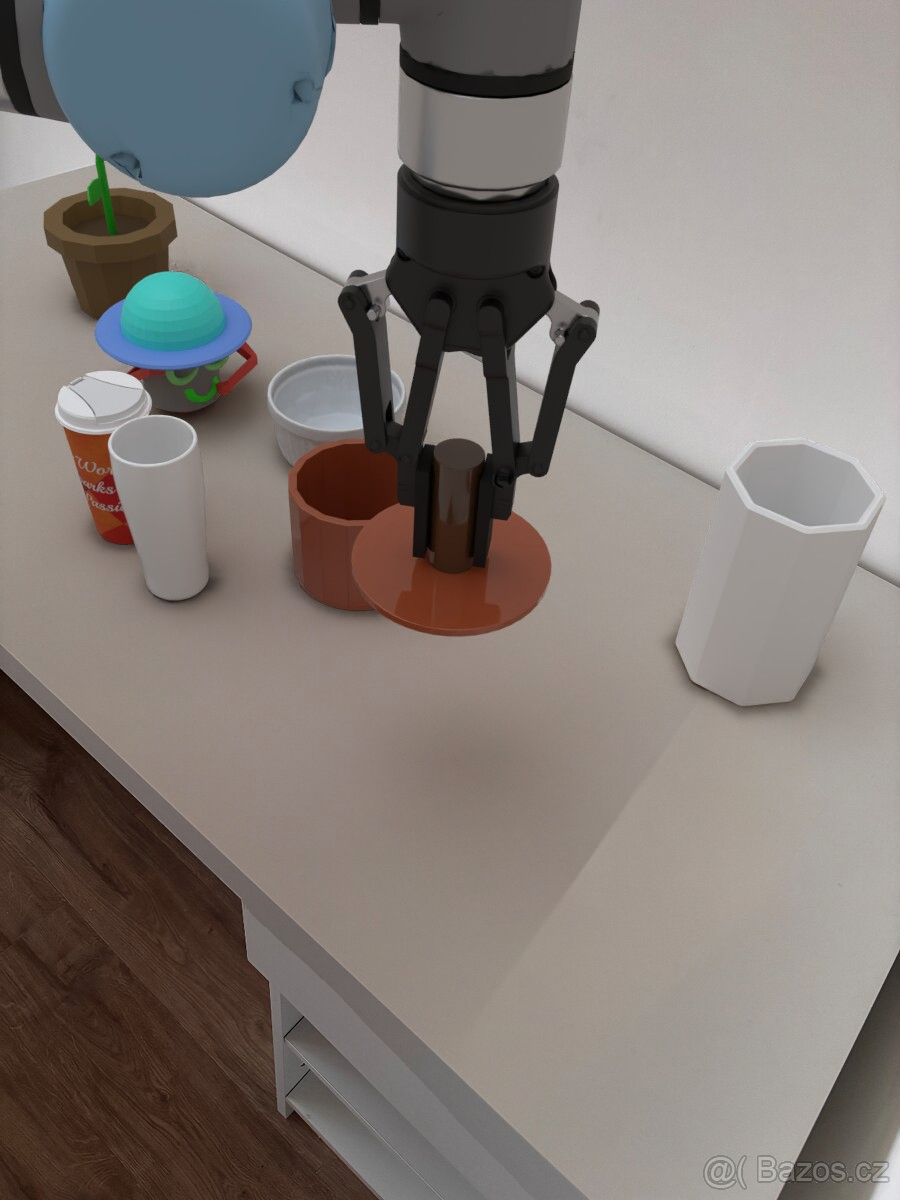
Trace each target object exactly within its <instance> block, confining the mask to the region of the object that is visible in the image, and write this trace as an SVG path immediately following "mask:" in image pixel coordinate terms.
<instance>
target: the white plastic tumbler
mask: <svg viewBox="0 0 900 1200" xmlns="http://www.w3.org/2000/svg"><path fill="white" fill-rule="evenodd" d="M108 449H109V456H110V462H111V468H112V473H113V478H114V482H115V486H116V490H117V493H118V496H119V499H120V503H121V506H122V508H123V511H124V514H125V517H126V520H127V523H128V526H129V529H130V532H131V535H132V538H133V541H134V543H133V544H134V547H135V550H136V553H137V556H138V559H139V562H140V565H141V568H142V572H143V576H144V577H143V578H144V582H145V585H146V587H147V588H148V590H149V591H150V592H151V593H152V594H153V595H154V596H156V597H157V598H160V599H162V600H165V601H166V600H167V601H183V600H187V599H190V598H193V597H194V596H197V595H198V594H200V592H202V591H203V590H204V589H205V587H206V586H207V584H208V583H209V579H210V568H209V560H208V545H207V518H206V492H205V491H206V489H205V488H206V487H205V474H204V467H203V460H202V459H203V458H202V454H201V448H200V443H199V439H198V434H197V432H196V430H195V428H194V427H193V426H192V425H191V424H190V423H188V421H185V420H184V419H182V418H179V417H175V416H172V415H166V414H165V415H164V414H149V416H143V417H139V418H135V419H132V420H130V421H128V422H126V423H124V424H122V425H121V426H119V427H118V428H117V429H116V430H115V431H114V432H113V433H112V434H111V436H110V438H109V441H108Z"/></svg>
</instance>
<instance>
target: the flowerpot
mask: <svg viewBox="0 0 900 1200" xmlns="http://www.w3.org/2000/svg"><path fill="white" fill-rule="evenodd" d="M94 154H95V153H94ZM94 156H95V158H94V159H95V160H94V161H95V162H94V163H95V168H96V173H97V177H96V178H93V179H92V180H91V182H90V183H89V184H88V185H87V187H86V190H85V191H81V192H79V193H74V194H72V195H68V196H65V197H61V198H60V199H58V201H56V202H55V203H54V204H52V205H51V206H50V207H48V208H47V209H45V211H43V224H42V225H43V227H42V228H43V233H44V236H45V239H46V244H47V247H49V248H51V250H53V251H55V252H56V253H57V254H59V255H61V258H62V262H63V264H64V266H65V269H66V273H67V275H68V277H69V280H70V282H71V286H72V288H73V291H74V294H75V295H76V299H77V301H78V304H79V307H80V309H81V311H83V312H84V313H86V314H87V315H88V316H90V317H91V318H92V319H93V320H99V319H100V318H101V316H102V315H103V314H104V313H105V312H106V311H107V310H108V309H109V308H110V307H112V306H113V305H115V304H116V303H118V302H120V301H122V300H124V299H126V297H127V295H128V293H129V292H130V291H131V289H132V288H133V287H134V286H135V285H136V284H137V283H138V282H140V281H141V280H142V279H144V278H145V277H147V276H149V275H152V274H155V273H160V272H166V271H170V255H169V254H170V253H169V252H170V251H169V245H170V244H171V243H172V242H173V241H175V240H176V239H177V238H178V237H179V236H178V229H177V221H176V215H175V208H174V204H173V203H172V202H170V201H169V200H167V199H165V198H163V197H162V196H161V195H159V194H157V193H156V192H152V191H147V190H146V191H145V190H140V189H135V188H128V187H112V188H110V186H109V181H108V174H107V170H106V164H105V162H107V161H106V160H104V159H102V158H101V157H100V156H98V155H97V154H95V155H94Z"/></svg>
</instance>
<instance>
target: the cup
mask: <svg viewBox="0 0 900 1200" xmlns="http://www.w3.org/2000/svg"><path fill="white" fill-rule="evenodd" d="M886 500H887V496H886V494H885V493H884V492H883V490H882V489H881V488H880V486H879V485H878V484H877V482H876V481H875V479H874V478H873V476H872V475H871V474H870V472H869V471H868V469H867V468H866V466H865V465H864V464H863V463H862V461H861V460H860V459H859V458H857V457H856V456H852V455H850V454H848V453H845V452H842V451H840V450H838V449H835V448H833V447H830V446H827V445H825V444H822V443H820V442H817V441H815V440H812V439H811V438H807V437H792V438H776V439H775V438H774V439H760V440H752V441H749V442H748V443H747V444H746V445H745V446H744V447H743V448H742V449H741V451H739V453H737V455H736V456H735V458H734V459H733V460H732V461H731V462H730V463H729V464H728V465H727V467H726V468H725V470H724V474H723V477H722V482H721V483H720V487H719V491H718V494H717V497H716V501H715V504H714V508H713V512H712V514H711V518H710V521H709V526H708V529H707V531H706V535H705V539H704V541H703V546H702V549H701V553H700V556H699V559H698V562H697V567H696V570H695V573H694V576H693V580H692V584H691V587H690V591H689V594H688V597H687V600H686V604H685V608H684V612H683V614H682V618H681V621H680V624H679V628H678V631H677V634H676V638H675V646H676V648H677V651H678V653H679V655H680V658H681V660H682V662H683V664H684V666H685V669H686V672H687V674H688V676H689V679H690V680H691V681H692V682H693V683H694V684H697V685H698V686H700V687H702V688H704V689H705V690H708V691H710V692H712V693H714V694H716V695H718V696H720V697H721V698H723V699H725V700H727V701H729V702H732V703H733V704H735V705H737V706H741V707H748V706H749V707H750V706H757V705H758V706H760V705H767V704H777V703H788V702H792V701H794V699H795V697H796V696H797V694H798V693H799V691H800V689H801V688H802V687H803V685H804V683H805V682H806V680H807V678H808V677H809V675H810V673H812V670H813V668H814V666H815V664H816V661H817V659H818V656H819V654H820V652H821V649H822V647H823V645H824V643H825V640H826V639H827V636H828V633H829V631H830V629H831V627H832V624H833V622H834V620H835V617H836V616H837V613H838V610H839V608H840V606H841V604H842V601H843V599H844V597H845V595H846V592H847V590H848V588H849V585H850V583H851V581H852V579H853V576H854V574H855V571H856V570H857V567H858V564H859V562H860V560H861V558H862V555H863V553H864V551H865V548H866V546H867V544H868V542H869V540H870V537H871V536H872V533H873V530H874V528H875V526H876V524H877V521H878V519H879V517H880V514H881V511H882V510H883V507H884V505H885V503H886Z"/></svg>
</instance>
